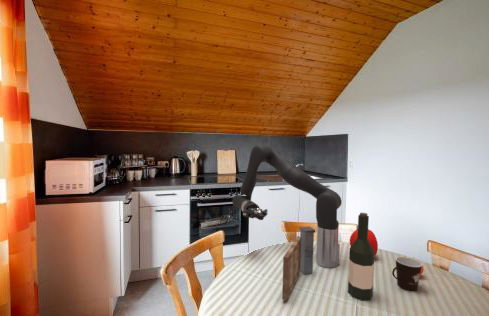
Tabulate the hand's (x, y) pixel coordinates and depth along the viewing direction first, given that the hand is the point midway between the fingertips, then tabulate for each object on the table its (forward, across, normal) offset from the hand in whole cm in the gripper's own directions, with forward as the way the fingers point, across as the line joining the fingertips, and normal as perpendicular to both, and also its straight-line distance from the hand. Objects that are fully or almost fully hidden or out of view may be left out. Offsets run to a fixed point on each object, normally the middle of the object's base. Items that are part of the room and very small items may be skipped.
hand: (261, 217), depth 112 cm
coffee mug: (+30, +48, +23) cm, 61 cm away
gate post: (+11, +16, +22) cm, 29 cm away
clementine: (+24, +60, +23) cm, 68 cm away
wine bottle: (+30, +28, +22) cm, 47 cm away
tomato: (+4, +52, +22) cm, 56 cm away
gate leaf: (+20, +5, +21) cm, 29 cm away
